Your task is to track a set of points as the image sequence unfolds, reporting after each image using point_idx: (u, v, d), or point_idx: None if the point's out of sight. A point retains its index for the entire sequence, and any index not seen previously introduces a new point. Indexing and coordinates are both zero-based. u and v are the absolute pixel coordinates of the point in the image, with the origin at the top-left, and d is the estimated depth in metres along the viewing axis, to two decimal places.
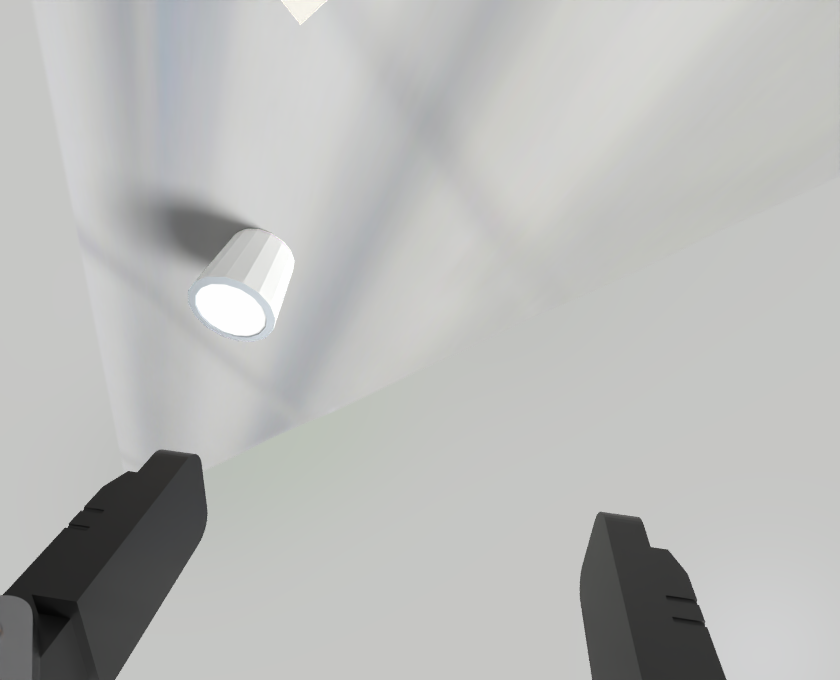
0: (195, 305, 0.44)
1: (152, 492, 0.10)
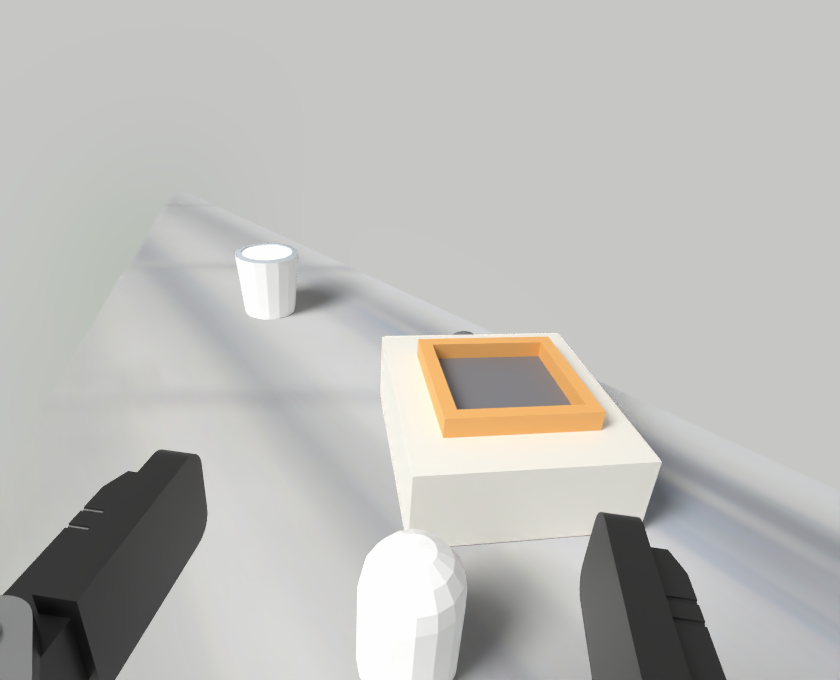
0: (285, 246, 0.66)
1: (152, 492, 0.10)
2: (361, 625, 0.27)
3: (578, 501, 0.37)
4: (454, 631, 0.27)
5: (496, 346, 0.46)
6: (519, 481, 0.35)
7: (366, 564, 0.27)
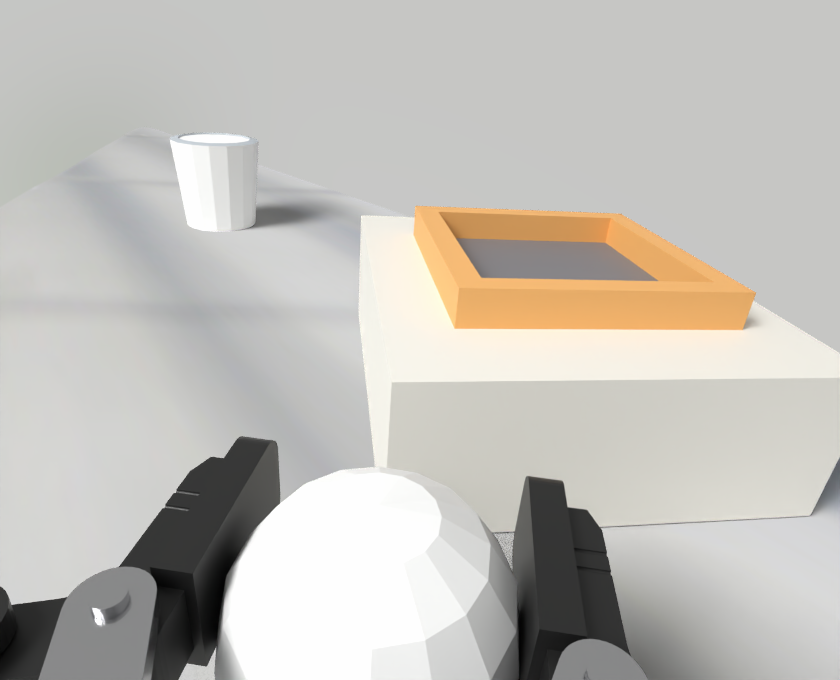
0: (242, 136, 0.49)
1: (242, 475, 0.11)
2: None
3: (711, 453, 0.19)
4: None
5: (540, 221, 0.29)
6: (605, 404, 0.18)
7: (241, 554, 0.10)
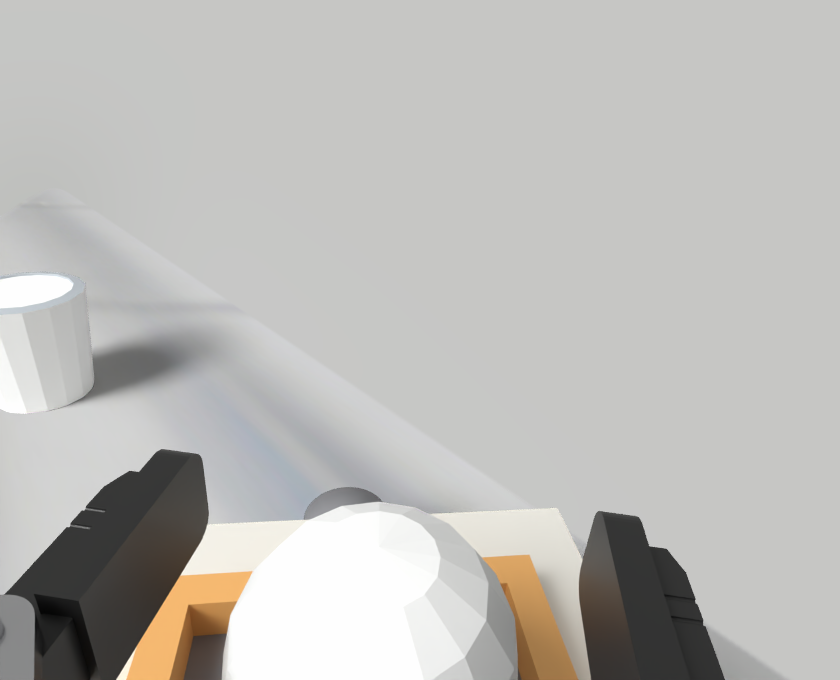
0: (68, 278, 0.36)
1: (154, 492, 0.10)
2: None
3: None
4: None
5: None
6: None
7: (245, 593, 0.10)
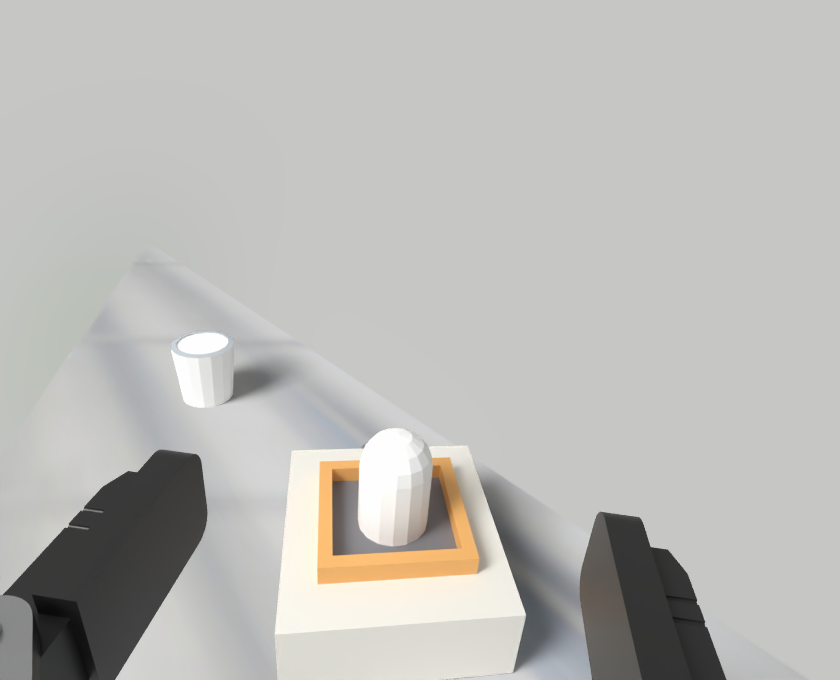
0: (223, 334, 0.68)
1: (152, 492, 0.10)
2: (361, 487, 0.41)
3: (445, 650, 0.38)
4: (422, 490, 0.40)
5: None
6: (383, 635, 0.36)
7: (365, 447, 0.41)
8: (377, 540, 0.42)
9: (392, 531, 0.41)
